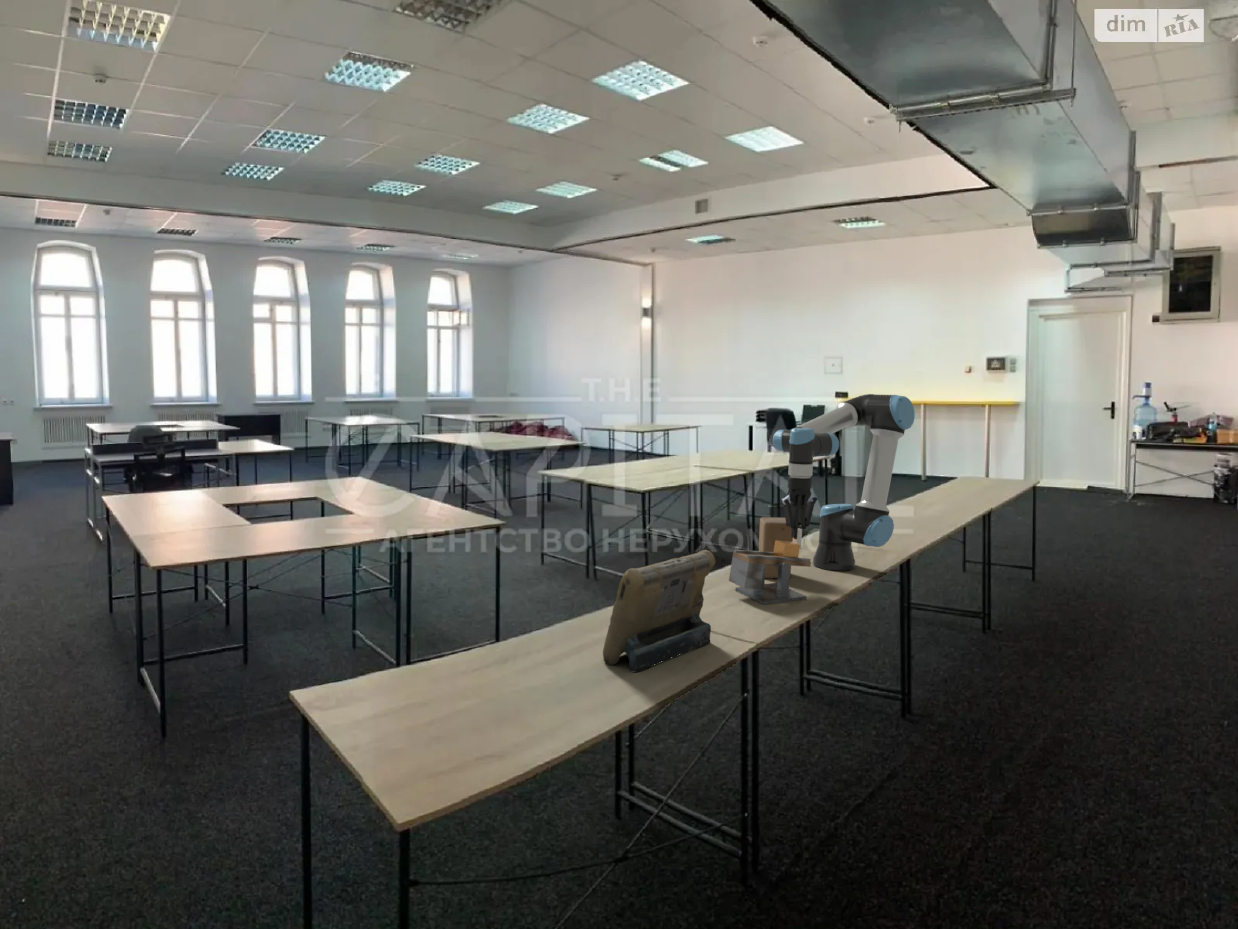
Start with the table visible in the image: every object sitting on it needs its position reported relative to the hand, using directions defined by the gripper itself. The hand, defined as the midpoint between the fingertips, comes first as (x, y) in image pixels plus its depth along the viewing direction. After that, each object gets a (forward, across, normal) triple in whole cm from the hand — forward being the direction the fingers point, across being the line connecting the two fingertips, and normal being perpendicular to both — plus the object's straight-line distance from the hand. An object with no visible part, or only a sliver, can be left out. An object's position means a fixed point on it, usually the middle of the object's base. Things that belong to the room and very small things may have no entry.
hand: (796, 548), depth 246 cm
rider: (+3, +4, 0) cm, 5 cm away
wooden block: (+15, -6, -19) cm, 25 cm away
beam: (+12, +11, 0) cm, 16 cm away
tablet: (+15, +65, +30) cm, 73 cm away
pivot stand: (+15, +10, 0) cm, 17 cm away
